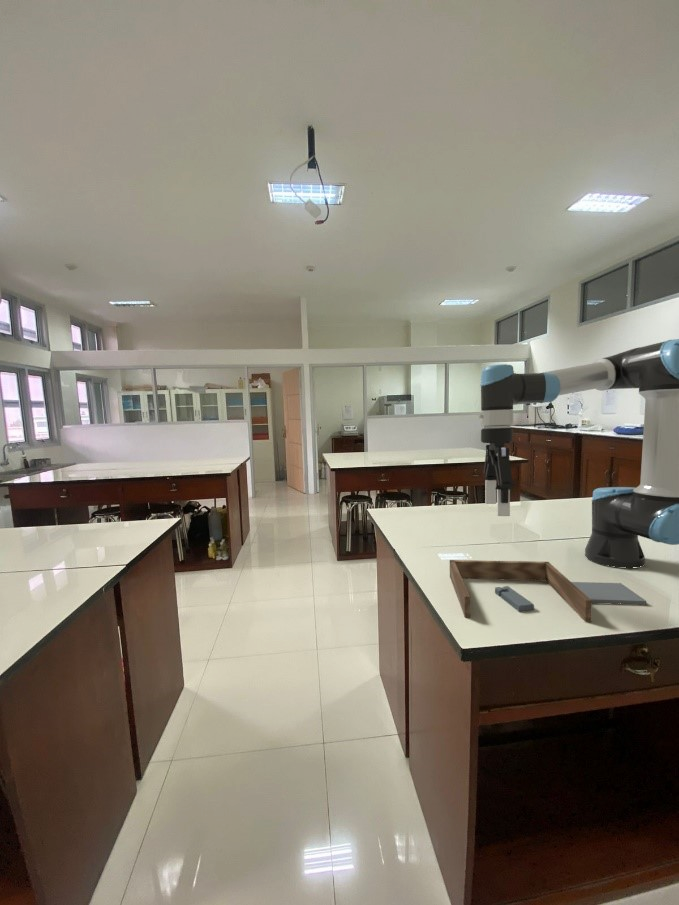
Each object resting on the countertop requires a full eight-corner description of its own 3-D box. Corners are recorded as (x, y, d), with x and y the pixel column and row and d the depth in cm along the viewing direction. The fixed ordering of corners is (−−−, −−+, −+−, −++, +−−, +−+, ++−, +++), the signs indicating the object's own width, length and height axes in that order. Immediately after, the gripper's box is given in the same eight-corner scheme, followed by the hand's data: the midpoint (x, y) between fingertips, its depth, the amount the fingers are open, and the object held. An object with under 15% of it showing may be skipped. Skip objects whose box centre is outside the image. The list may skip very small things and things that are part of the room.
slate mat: (620, 586, 98) (621, 583, 98) (646, 605, 88) (646, 601, 88) (564, 585, 100) (564, 581, 100) (582, 603, 90) (582, 599, 90)
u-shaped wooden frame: (548, 578, 105) (548, 561, 104) (591, 622, 82) (591, 600, 81) (449, 576, 108) (449, 560, 108) (464, 617, 86) (464, 596, 85)
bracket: (519, 614, 87) (519, 605, 87) (494, 594, 98) (494, 586, 97) (534, 612, 88) (534, 604, 88) (508, 592, 98) (508, 585, 98)
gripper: (472, 427, 107) (472, 499, 109) (492, 428, 82) (492, 521, 84) (500, 426, 106) (500, 499, 107) (528, 427, 81) (527, 522, 83)
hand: (496, 509), depth 96 cm, fingers open, 13 cm apart
